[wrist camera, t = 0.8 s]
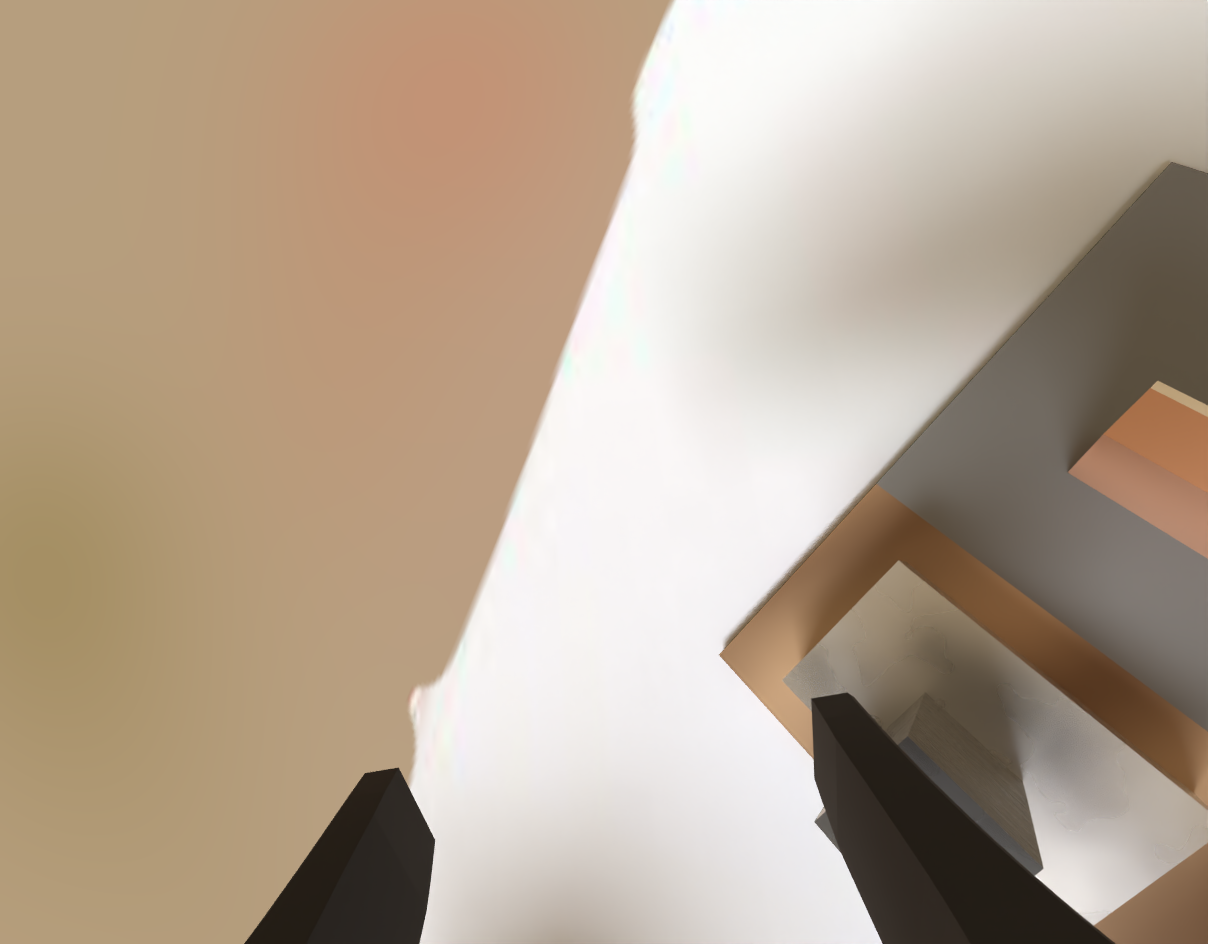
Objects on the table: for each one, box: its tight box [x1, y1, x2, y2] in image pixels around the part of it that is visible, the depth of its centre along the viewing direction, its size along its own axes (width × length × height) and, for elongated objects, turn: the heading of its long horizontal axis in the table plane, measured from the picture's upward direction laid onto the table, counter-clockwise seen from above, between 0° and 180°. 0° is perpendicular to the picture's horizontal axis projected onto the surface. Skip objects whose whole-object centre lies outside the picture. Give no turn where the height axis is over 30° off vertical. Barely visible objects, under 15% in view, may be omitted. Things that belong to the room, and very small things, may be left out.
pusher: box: [782, 560, 1208, 926], centre depth 15 cm, size 9×6×8 cm, turn 46°
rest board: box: [719, 484, 1208, 944], centre depth 18 cm, size 15×9×1 cm, turn 46°
